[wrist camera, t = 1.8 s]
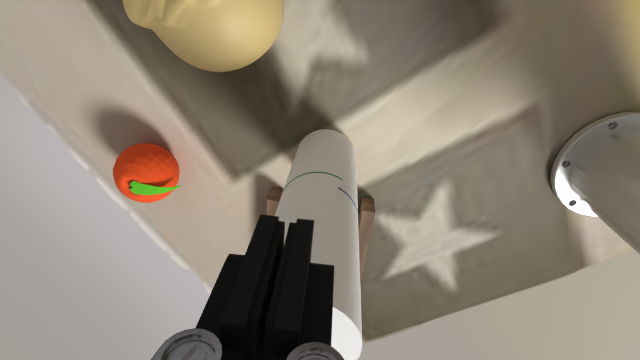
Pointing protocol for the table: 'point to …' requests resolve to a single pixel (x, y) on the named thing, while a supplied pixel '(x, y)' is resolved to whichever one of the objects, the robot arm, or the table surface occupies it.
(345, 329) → the cylindrical container
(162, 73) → the table surface
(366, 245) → the cradle rails
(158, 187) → the clementine
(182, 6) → the pale yellow lumpy blob
